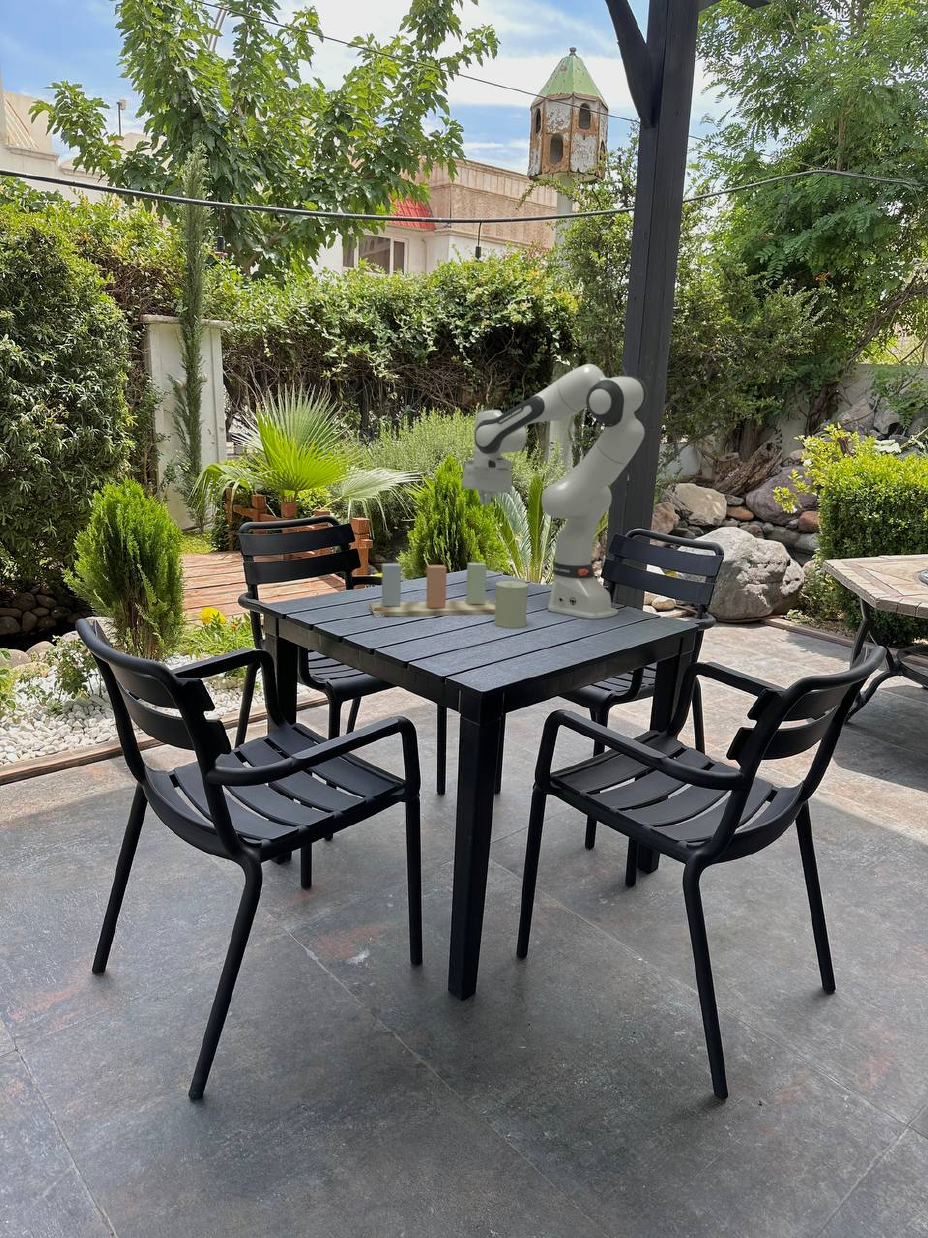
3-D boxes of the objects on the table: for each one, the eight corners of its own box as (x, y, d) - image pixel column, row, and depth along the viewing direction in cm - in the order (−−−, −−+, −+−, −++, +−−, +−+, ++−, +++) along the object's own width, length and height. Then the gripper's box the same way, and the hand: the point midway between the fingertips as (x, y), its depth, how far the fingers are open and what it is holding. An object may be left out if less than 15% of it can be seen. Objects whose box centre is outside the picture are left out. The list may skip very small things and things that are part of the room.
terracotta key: (442, 604, 238) (443, 565, 235) (445, 607, 234) (446, 567, 232) (426, 604, 237) (427, 565, 234) (428, 607, 233) (429, 567, 230)
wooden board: (491, 604, 248) (491, 598, 247) (501, 614, 236) (501, 607, 236) (369, 607, 239) (369, 601, 238) (374, 617, 228) (374, 610, 227)
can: (490, 626, 222) (491, 584, 219) (498, 618, 231) (500, 578, 228) (522, 629, 220) (524, 587, 217) (529, 621, 228) (531, 580, 225)
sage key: (481, 600, 244) (483, 562, 242) (485, 603, 241) (486, 564, 238) (466, 601, 243) (467, 562, 240) (469, 604, 240) (470, 565, 237)
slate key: (398, 602, 239) (398, 563, 236) (400, 605, 235) (400, 565, 232) (381, 603, 237) (382, 563, 234) (383, 606, 234) (383, 566, 231)
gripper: (458, 459, 261) (457, 502, 264) (501, 463, 246) (499, 508, 249) (472, 459, 265) (471, 501, 268) (515, 463, 250) (513, 507, 253)
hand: (485, 504), depth 258 cm, fingers closed
